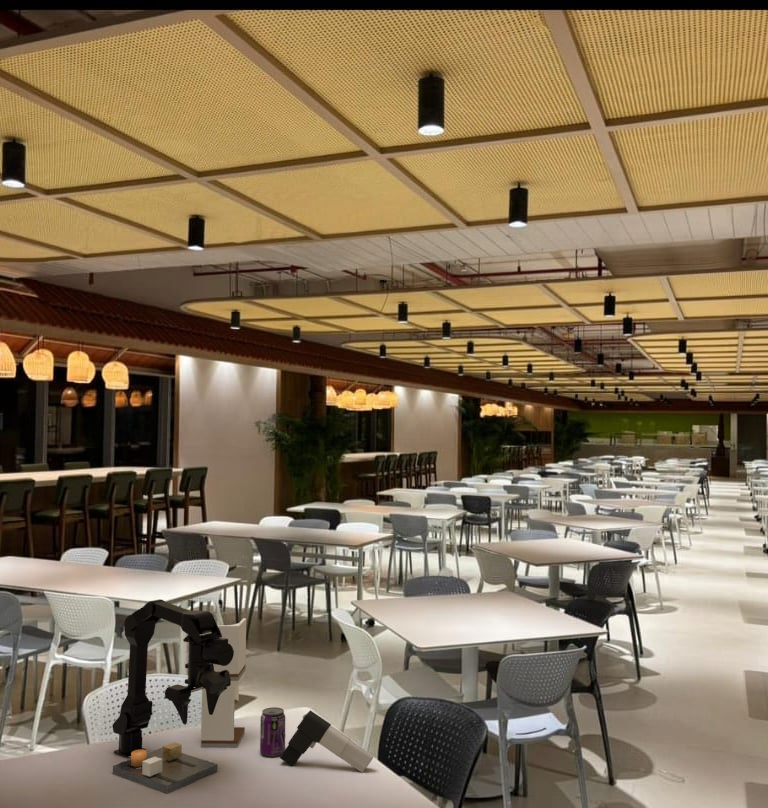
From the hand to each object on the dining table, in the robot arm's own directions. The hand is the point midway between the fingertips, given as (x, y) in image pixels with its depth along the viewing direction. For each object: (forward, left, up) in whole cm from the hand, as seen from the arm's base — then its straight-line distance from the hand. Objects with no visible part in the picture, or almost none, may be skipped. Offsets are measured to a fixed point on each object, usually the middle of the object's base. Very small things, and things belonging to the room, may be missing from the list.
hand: (198, 719), depth 212 cm
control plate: (-8, -4, -14) cm, 17 cm away
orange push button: (-14, -8, -12) cm, 20 cm away
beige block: (-6, -10, -12) cm, 17 cm away
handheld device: (+25, +24, -15) cm, 38 cm away
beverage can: (+6, +23, -15) cm, 28 cm away
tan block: (-10, 0, -12) cm, 16 cm away
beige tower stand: (-13, +22, -15) cm, 30 cm away
